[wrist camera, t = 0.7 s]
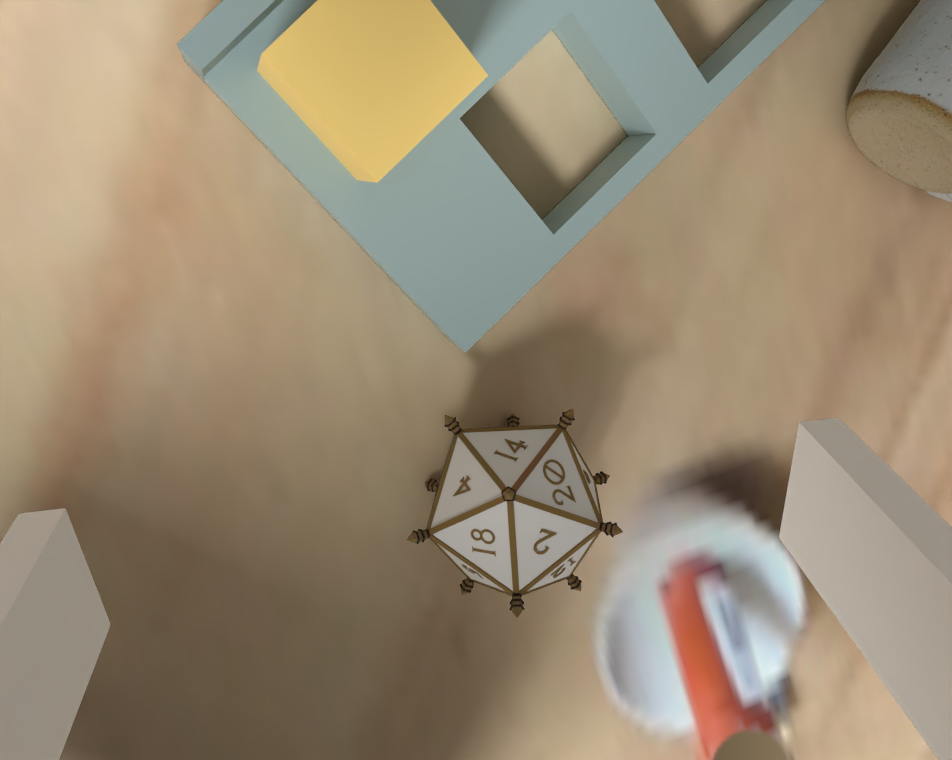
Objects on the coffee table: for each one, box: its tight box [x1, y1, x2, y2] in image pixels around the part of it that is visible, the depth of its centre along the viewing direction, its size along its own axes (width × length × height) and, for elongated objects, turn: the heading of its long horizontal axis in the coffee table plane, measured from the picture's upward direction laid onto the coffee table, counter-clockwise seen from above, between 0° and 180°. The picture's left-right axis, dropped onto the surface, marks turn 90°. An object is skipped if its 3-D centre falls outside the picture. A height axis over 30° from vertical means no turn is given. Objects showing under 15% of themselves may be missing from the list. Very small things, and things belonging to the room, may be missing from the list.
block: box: [257, 0, 488, 183], centre depth 26 cm, size 5×5×4 cm
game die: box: [407, 409, 623, 618], centre depth 33 cm, size 9×8×10 cm
